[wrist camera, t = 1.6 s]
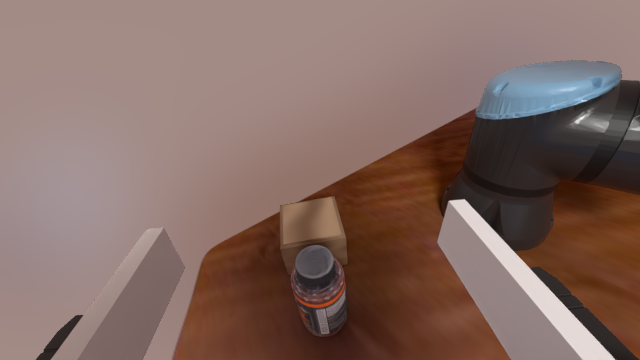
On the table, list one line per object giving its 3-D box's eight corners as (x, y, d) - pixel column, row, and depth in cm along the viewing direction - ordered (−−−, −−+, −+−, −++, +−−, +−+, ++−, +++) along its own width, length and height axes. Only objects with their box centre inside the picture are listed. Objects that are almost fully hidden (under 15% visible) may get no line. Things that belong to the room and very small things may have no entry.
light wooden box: (336, 221, 45) (333, 194, 41) (347, 264, 37) (345, 236, 34) (286, 230, 44) (279, 204, 41) (288, 275, 37) (279, 247, 33)
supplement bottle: (293, 307, 33) (275, 253, 26) (331, 283, 35) (323, 228, 29) (316, 350, 29) (301, 298, 22) (357, 320, 31) (355, 265, 24)
